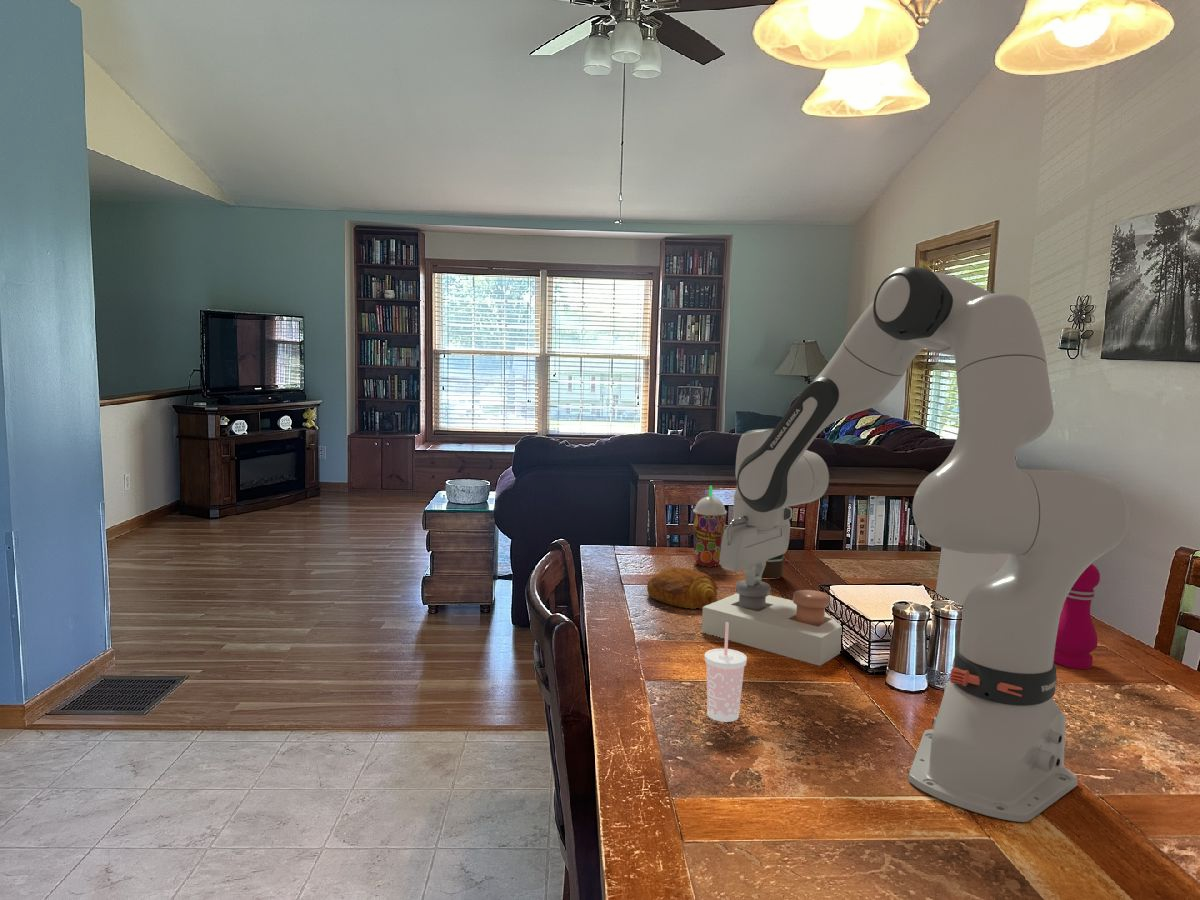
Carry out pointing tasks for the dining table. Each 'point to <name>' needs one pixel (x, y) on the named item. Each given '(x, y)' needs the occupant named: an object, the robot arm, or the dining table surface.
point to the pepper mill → (1077, 624)
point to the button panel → (774, 629)
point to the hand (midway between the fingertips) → (753, 584)
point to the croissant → (683, 588)
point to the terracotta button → (811, 606)
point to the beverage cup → (724, 681)
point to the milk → (965, 572)
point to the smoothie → (708, 530)
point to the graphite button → (752, 595)
